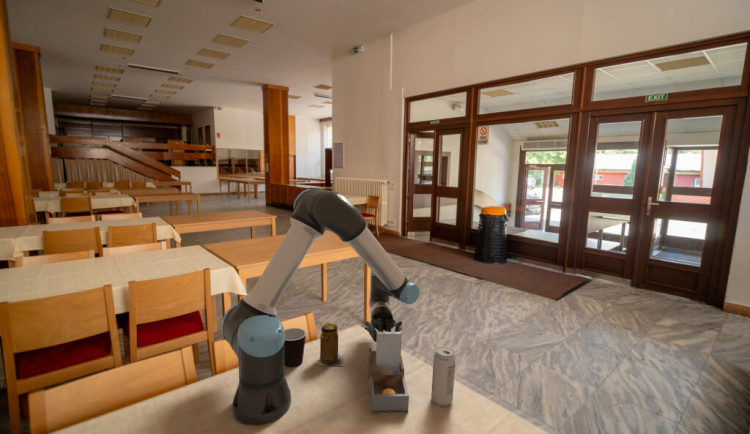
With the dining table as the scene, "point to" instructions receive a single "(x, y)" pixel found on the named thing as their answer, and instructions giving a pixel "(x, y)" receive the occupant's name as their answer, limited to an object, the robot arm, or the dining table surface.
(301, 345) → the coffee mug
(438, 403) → the energy drink can
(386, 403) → the grey open box
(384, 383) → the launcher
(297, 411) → the dining table surface
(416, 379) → the dining table surface
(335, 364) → the condiment
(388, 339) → the gray rectangular panel
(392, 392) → the ball
